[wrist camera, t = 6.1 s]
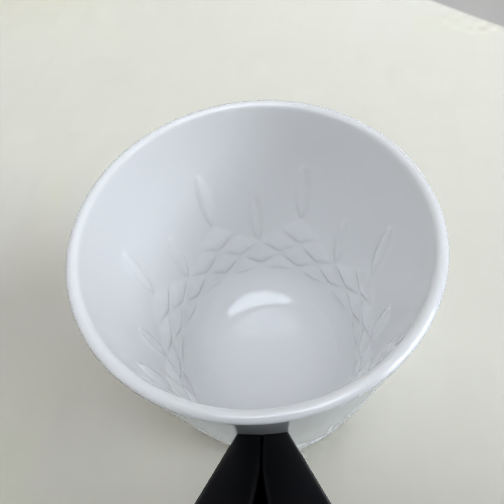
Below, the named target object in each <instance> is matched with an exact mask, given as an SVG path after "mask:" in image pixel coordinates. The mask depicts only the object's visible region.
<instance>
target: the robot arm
mask: <svg viewBox="0 0 504 504" xmlns="http://www.w3.org/2000/svg"><path fill="white" fill-rule="evenodd" d="M195 504H331V503H330V501H329V499H328V498H327V496H326V494H325V493H324V491H323V489H322V488H321V486H320V484H319V483H318V481H317V479H316V478H315V476H314V474H313V473H312V471H311V469H310V468H309V466H308V464H307V463H306V461H305V459H304V458H303V456H302V454H301V453H300V451H299V449H298V448H297V446H296V444H295V443H294V441H293V439H292V438H291V436H290V434H289V433H288V432H283V433H275V434H263V435H259V434H255V435H254V434H237V435H236V436H235V438H234V440H233V441H232V443H231V445H230V446H229V448H228V450H227V451H226V453H225V454H224V456H223V458H222V459H221V461H220V463H219V464H218V466H217V468H216V469H215V471H214V473H213V474H212V476H211V478H210V479H209V481H208V483H207V484H206V486H205V487H204V489H203V491H202V492H201V494H200V496H199V497H198V499H197V501H196V502H195Z"/></svg>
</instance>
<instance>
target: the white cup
mask: <svg viewBox="0 0 504 504" xmlns="http://www.w3.org/2000/svg"><path fill="white" fill-rule="evenodd" d="M448 267H449V242H448V234H447V228H446V224H445V220H444V216H443V213H442V210H441V207H440V204H439V202H438V200H437V197H436V195H435V193H434V191H433V189H432V188H431V186H430V184H429V182H428V181H427V179H426V178H425V176H424V175H423V173H422V172H421V171H420V169H419V168H418V167H417V166H416V164H415V163H414V162H413V161H412V160H411V159H410V158H409V157H408V156H407V155H406V154H405V153H404V152H403V151H402V150H401V149H400V148H399V147H398V146H397V145H396V144H394V143H393V142H392V141H391V140H389V139H388V138H387V137H385V136H384V135H382V134H381V133H379V132H378V131H376V130H375V129H373V128H371V127H370V126H368V125H366V124H364V123H362V122H360V121H358V120H356V119H354V118H352V117H349V116H347V115H344V114H342V113H339V112H336V111H333V110H330V109H327V108H323V107H319V106H315V105H310V104H305V103H299V102H291V101H278V100H256V101H243V102H235V103H228V104H223V105H218V106H214V107H210V108H206V109H203V110H199V111H196V112H193V113H190V114H188V115H185V116H182V117H180V118H178V119H175V120H173V121H171V122H169V123H167V124H165V125H163V126H161V127H159V128H157V129H155V130H154V131H152V132H150V133H149V134H147V135H146V136H144V137H143V138H141V139H140V140H138V141H137V142H136V143H134V144H133V145H132V146H130V147H129V148H128V149H127V150H125V151H124V152H123V153H122V154H121V155H120V156H119V157H118V158H117V159H116V160H114V161H113V163H112V164H111V165H110V166H109V167H108V168H107V169H106V170H105V171H104V172H103V174H102V175H101V176H100V177H99V179H98V180H97V181H96V183H95V184H94V185H93V187H92V188H91V190H90V192H89V193H88V195H87V196H86V198H85V200H84V202H83V204H82V206H81V208H80V210H79V212H78V214H77V217H76V219H75V222H74V225H73V228H72V231H71V235H70V239H69V243H68V249H67V257H66V284H67V292H68V297H69V302H70V306H71V309H72V312H73V315H74V318H75V321H76V323H77V326H78V328H79V330H80V332H81V334H82V336H83V338H84V339H85V341H86V343H87V344H88V346H89V347H90V349H91V350H92V352H93V353H94V355H95V356H96V357H97V358H98V360H99V361H100V362H101V363H102V364H103V365H104V367H105V368H106V369H107V370H108V371H109V372H110V373H111V374H112V375H113V376H114V377H116V378H117V379H118V380H119V381H120V382H121V383H123V384H124V385H125V386H126V387H128V388H129V389H131V390H132V391H133V392H135V393H136V394H138V395H140V396H141V397H143V398H145V399H146V400H148V401H150V402H152V403H153V404H155V405H157V406H159V407H161V408H162V409H164V410H166V411H168V412H169V413H171V414H173V415H174V416H176V417H178V418H179V419H181V420H183V421H184V422H186V423H188V424H189V425H191V426H192V427H194V428H196V429H197V430H199V431H201V432H203V433H205V434H206V435H208V436H210V437H212V438H214V439H216V440H218V441H221V442H224V443H226V444H228V445H231V443H232V441H233V440H234V438H235V436H236V435H237V434H254V435H255V434H259V435H263V434H275V433H283V432H288V433H289V434H290V436H291V438H292V439H293V441H294V443H295V444H296V446H297V448H298V449H299V451H301V450H303V449H304V448H306V447H307V446H309V445H310V444H312V443H314V442H316V441H318V440H320V439H322V438H324V437H326V436H327V435H329V434H330V433H331V432H333V431H334V430H335V429H337V428H338V427H339V426H340V425H341V424H343V423H344V422H345V421H346V420H347V419H349V418H350V417H351V416H352V415H353V414H354V413H355V412H356V411H357V410H358V409H359V408H360V407H361V406H362V405H363V404H364V403H365V402H366V401H367V400H368V398H369V397H370V396H371V395H372V394H373V393H374V392H375V391H376V390H377V389H378V388H379V387H380V385H381V384H382V383H383V382H384V381H385V380H386V379H387V378H388V377H389V376H390V375H391V374H392V373H393V372H394V371H395V370H396V369H397V368H398V367H399V366H400V365H401V364H402V363H403V362H404V361H405V360H406V359H407V357H408V356H409V355H410V354H411V353H412V352H413V350H414V349H415V348H416V347H417V345H418V344H419V343H420V341H421V340H422V338H423V337H424V335H425V334H426V332H427V330H428V329H429V327H430V325H431V323H432V321H433V319H434V317H435V315H436V313H437V311H438V308H439V306H440V303H441V300H442V297H443V294H444V290H445V286H446V281H447V275H448Z"/></svg>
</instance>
